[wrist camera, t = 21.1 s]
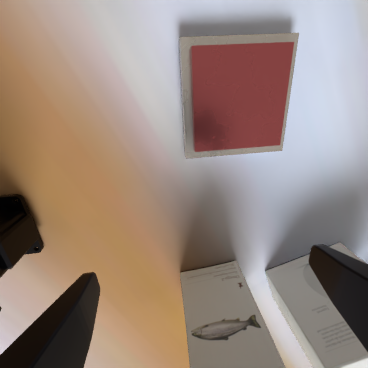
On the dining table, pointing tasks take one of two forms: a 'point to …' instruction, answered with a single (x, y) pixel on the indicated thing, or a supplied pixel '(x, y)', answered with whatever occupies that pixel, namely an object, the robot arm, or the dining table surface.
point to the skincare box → (315, 315)
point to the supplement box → (225, 321)
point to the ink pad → (235, 92)
